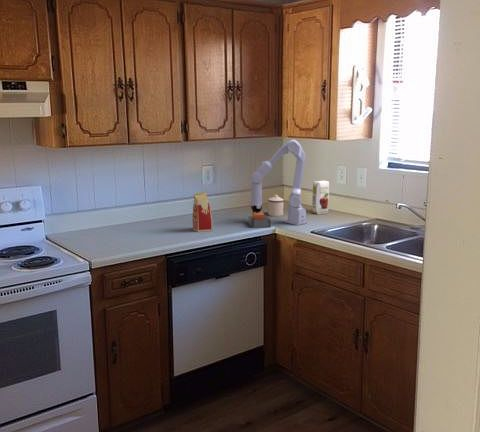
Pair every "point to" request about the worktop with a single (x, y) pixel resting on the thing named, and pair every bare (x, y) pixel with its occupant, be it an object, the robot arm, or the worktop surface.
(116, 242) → the worktop surface
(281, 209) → the teacup with lid
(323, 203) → the juice carton
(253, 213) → the block
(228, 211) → the worktop surface
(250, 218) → the coupler channel
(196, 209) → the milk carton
